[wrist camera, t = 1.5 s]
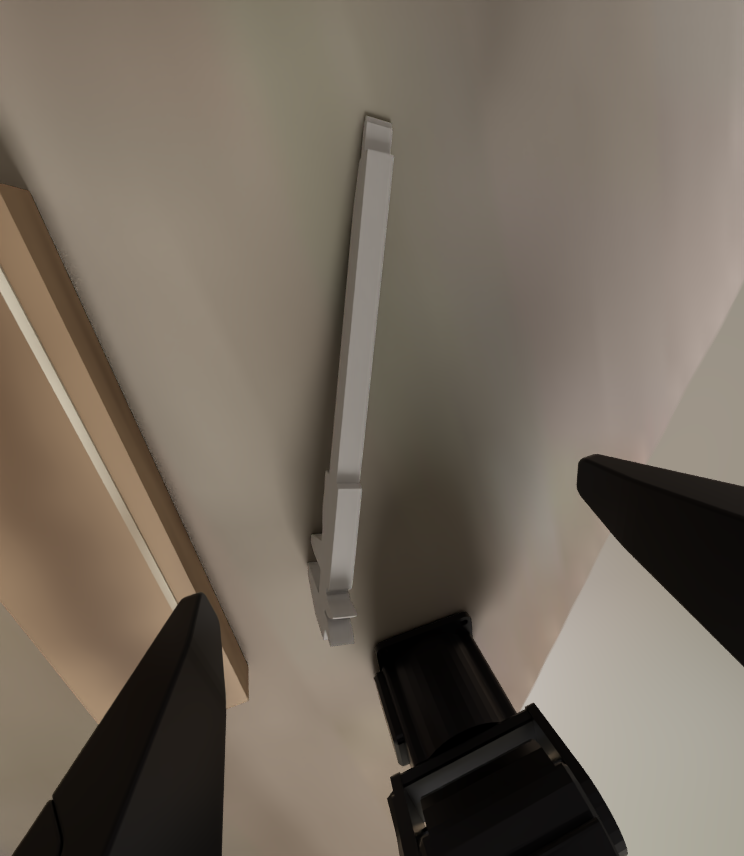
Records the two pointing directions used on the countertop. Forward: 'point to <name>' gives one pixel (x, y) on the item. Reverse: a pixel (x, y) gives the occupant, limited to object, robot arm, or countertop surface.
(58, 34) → the countertop surface
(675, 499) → the robot arm
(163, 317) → the countertop surface
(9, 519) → the walnut board
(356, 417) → the caliper
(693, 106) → the countertop surface
